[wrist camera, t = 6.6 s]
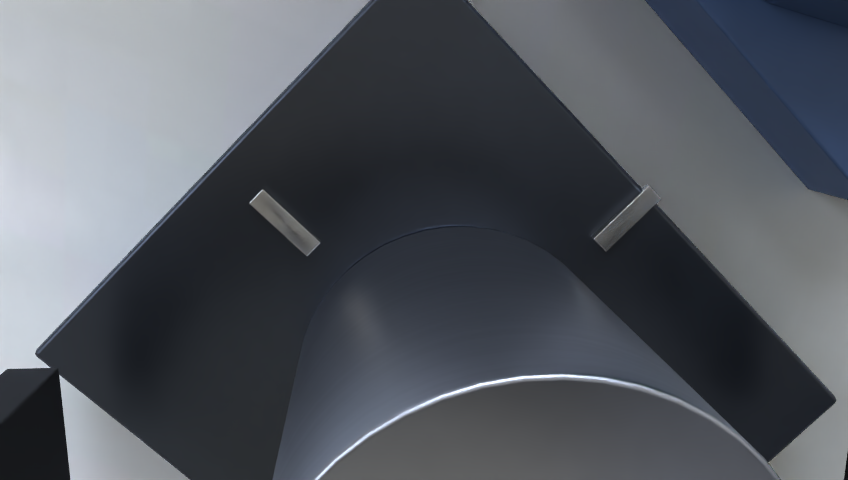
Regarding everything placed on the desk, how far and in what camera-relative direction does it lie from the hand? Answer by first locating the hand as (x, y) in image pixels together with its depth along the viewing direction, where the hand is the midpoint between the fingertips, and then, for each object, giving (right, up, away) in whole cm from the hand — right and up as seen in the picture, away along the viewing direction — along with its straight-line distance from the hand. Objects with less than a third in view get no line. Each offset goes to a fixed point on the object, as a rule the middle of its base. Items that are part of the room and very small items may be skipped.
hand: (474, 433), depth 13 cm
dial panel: (0, +1, +5) cm, 5 cm away
